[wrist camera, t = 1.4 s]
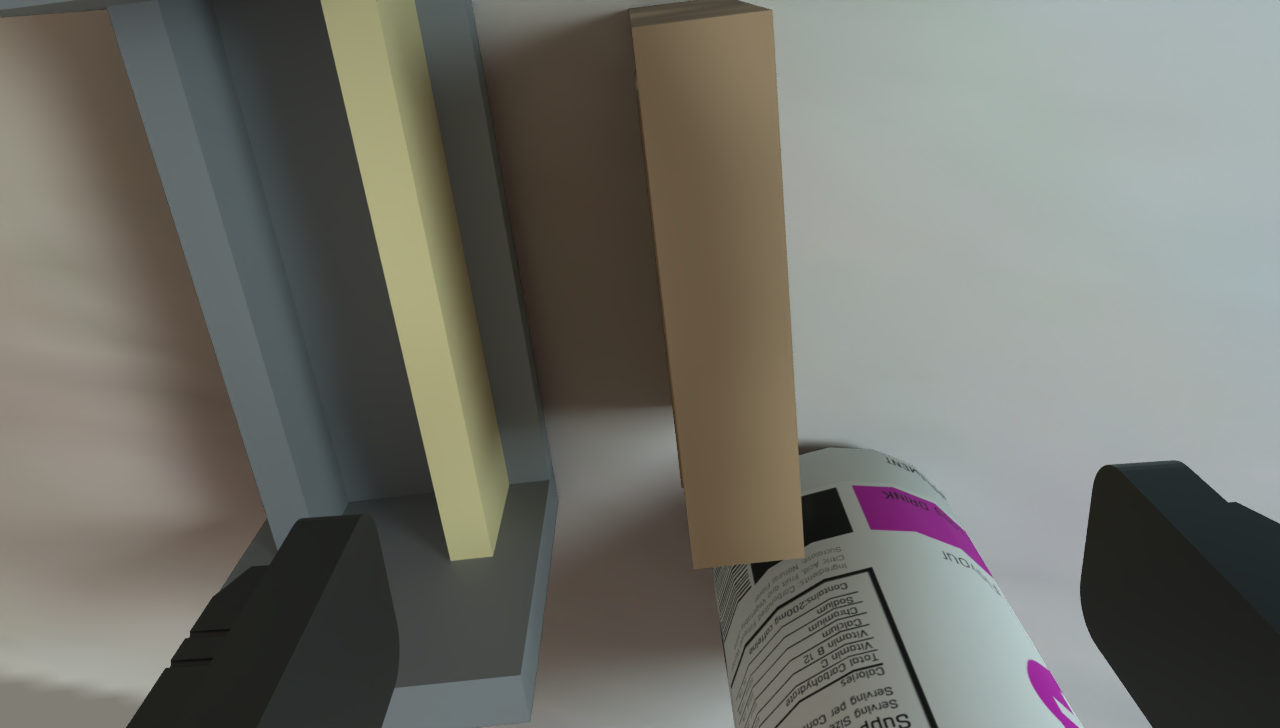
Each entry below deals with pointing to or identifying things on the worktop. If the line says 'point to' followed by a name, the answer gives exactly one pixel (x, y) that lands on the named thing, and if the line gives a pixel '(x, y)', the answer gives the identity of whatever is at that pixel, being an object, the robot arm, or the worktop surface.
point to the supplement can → (878, 615)
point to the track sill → (364, 307)
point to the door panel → (722, 272)
